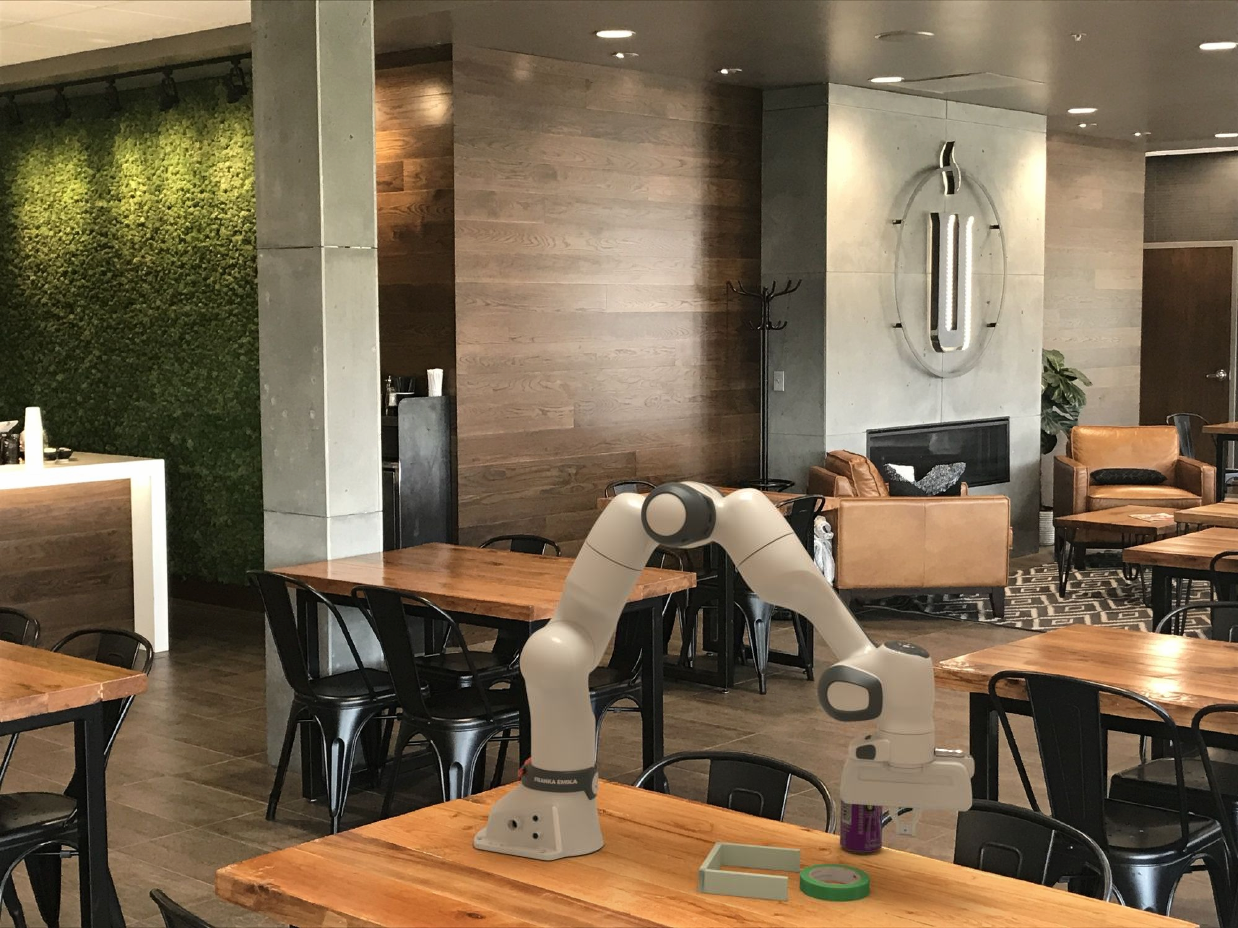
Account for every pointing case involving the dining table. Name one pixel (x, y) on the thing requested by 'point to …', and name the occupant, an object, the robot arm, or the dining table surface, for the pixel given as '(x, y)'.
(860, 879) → the tape roll
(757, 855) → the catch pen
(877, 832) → the beverage can
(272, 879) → the dining table surface
